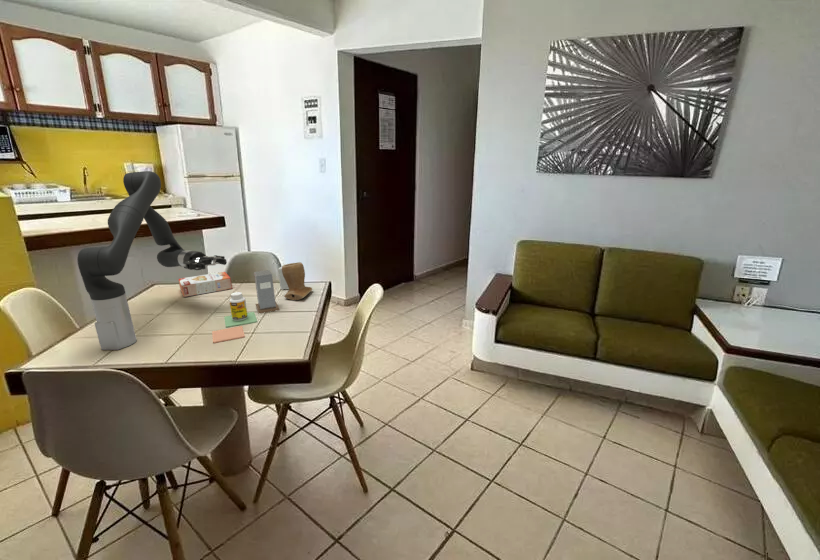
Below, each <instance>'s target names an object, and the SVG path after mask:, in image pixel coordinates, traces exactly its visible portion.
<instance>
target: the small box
mask: <svg viewBox="0 0 820 560" xmlns="http://www.w3.org/2000/svg"><path fill="white" fill-rule="evenodd" d="M282 266H283V265H281V266H280V267H279V268H277V271H278V279H279V287H280V290H281V289H282V290H281V291H284V290H283V289H289V287H288V285H287V283H286V280H285V278H284V277H283V274H282Z"/></svg>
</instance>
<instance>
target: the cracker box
mask: <svg viewBox="0 0 820 560" xmlns="http://www.w3.org/2000/svg"><path fill="white" fill-rule="evenodd" d="M178 285H179V288H180V292H181V294H182V296H183V298H185V297H190V296H191V297H192V296H198V295H204V294H209V293H214V292H221V291H225V290H231V289H233V285H232V279H231V276H229V274H228V273H227V272H226V271H221V272H214V273H208V274H207V273H206V274H200V275H195V276H188V277H181V278H178Z"/></svg>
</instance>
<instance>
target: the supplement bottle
mask: <svg viewBox="0 0 820 560" xmlns="http://www.w3.org/2000/svg"><path fill="white" fill-rule="evenodd" d="M228 301H229V307H230V314H231V315H232V319H233V320H234V321H242V320H245V319H246V318H247V313H248V311H247V309H248V308H247V303H246V298H245V297H244V296H243V293H242V291H237V292H232V293H231V294H230V299H229V300H228ZM231 315H230V316H231Z"/></svg>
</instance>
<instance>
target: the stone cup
mask: <svg viewBox="0 0 820 560" xmlns="http://www.w3.org/2000/svg"><path fill="white" fill-rule="evenodd" d="M281 266H282V274H283V277H284V278H285V280H286V283H287V285H288V287H289V290H287V292H286V293H285V294H284V295H283V296H284V297H285V298H286V299H289V300H290V301H298V300H299V301H300V300H302V299H303V298H305V297H306V296H307V295H308V294H310V292H312V291H313V287H311V286H306V285H305V278H306V271H305V267H304V264H303V263H302V262H300V261H299V262H292V263H287V264H283V265H281ZM285 298H284V299H285Z"/></svg>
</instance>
